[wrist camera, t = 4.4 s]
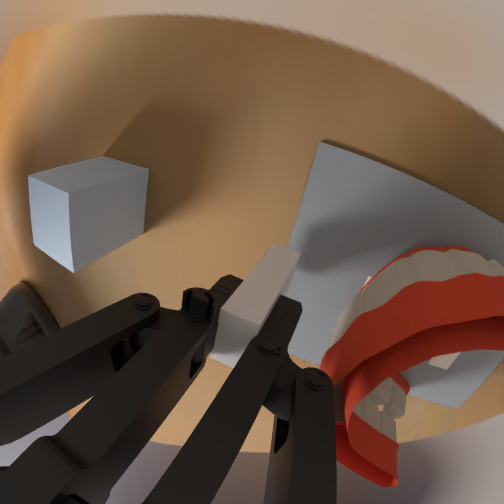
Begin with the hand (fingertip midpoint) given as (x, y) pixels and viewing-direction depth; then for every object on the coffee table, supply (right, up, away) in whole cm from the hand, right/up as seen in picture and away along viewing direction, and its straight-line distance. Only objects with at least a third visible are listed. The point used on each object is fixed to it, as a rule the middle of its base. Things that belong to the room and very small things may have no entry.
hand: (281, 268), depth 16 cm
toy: (+9, -3, 0) cm, 9 cm away
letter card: (+9, -3, 0) cm, 9 cm away
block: (-11, +5, +4) cm, 13 cm away
